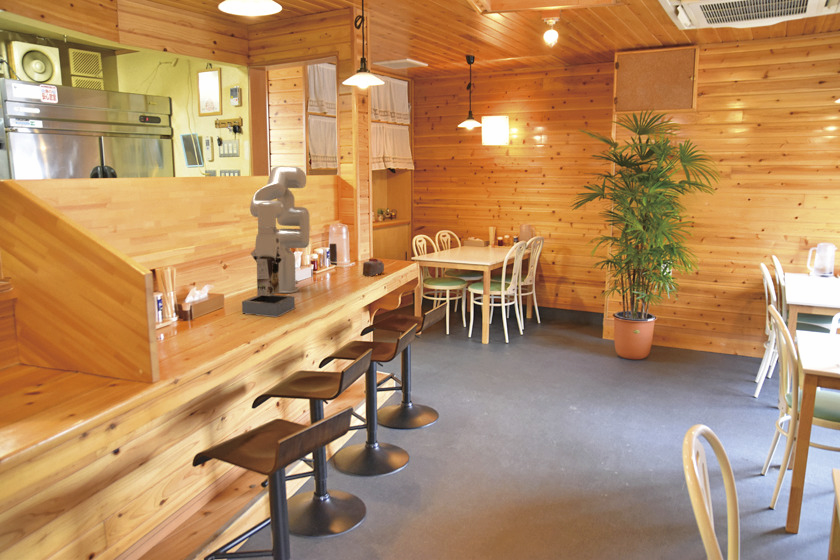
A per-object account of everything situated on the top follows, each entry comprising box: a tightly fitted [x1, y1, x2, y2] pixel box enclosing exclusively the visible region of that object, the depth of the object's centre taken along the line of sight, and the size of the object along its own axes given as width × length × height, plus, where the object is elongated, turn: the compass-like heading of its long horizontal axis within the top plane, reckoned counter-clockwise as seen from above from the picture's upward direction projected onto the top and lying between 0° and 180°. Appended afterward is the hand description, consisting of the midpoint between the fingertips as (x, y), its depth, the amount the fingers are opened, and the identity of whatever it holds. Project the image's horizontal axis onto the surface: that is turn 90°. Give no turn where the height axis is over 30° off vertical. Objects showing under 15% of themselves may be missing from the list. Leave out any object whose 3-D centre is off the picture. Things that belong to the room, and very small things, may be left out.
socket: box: [241, 294, 296, 318], centre depth 257 cm, size 16×16×5 cm
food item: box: [362, 258, 385, 277], centre depth 345 cm, size 14×8×10 cm, turn 153°
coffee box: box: [256, 257, 279, 296], centre depth 255 cm, size 9×6×16 cm
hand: (268, 271), depth 254 cm, fingers closed on coffee box, 6 cm apart
